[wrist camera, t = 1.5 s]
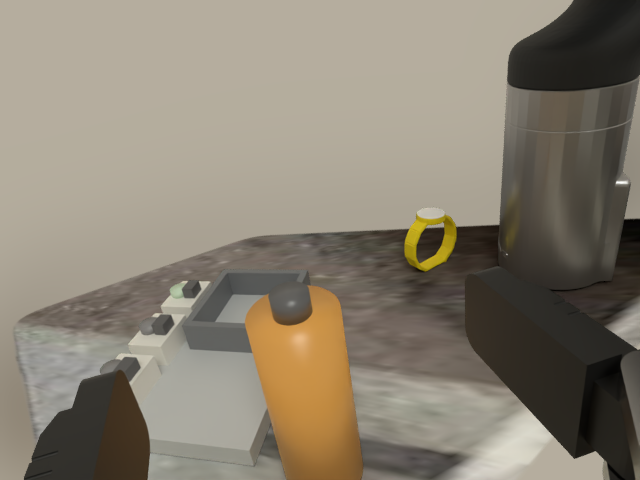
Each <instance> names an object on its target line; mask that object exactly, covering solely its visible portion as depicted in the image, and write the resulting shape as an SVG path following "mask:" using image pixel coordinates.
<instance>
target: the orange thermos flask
mask: <svg viewBox="0 0 640 480" xmlns="http://www.w3.org/2000/svg"><path fill="white" fill-rule="evenodd" d="M245 327H246V331H247V334H248V338H249V342H250V345H251V349H252V353H253V357H254V360H255V364H256V368H257V371H258V375H259V379H260V383H261V386H262V390H263V394H264V397H265V401H266V405H267V409H268V412H269V416H270V420H271V423H272V427H273V431H274V435H275V438H276V442H277V446H278V450H279V453H280V457H281V461H282V464H283V468H284V472H285V476H286V479H287V480H361V478H362V474H363V460H362V453H361V446H360V439H359V432H358V425H357V418H356V411H355V404H354V397H353V390H352V383H351V376H350V369H349V362H348V355H347V348H346V341H345V334H344V327H343V320H342V313H341V306H340V302H339V300H338V299H337V297H336V296H335V295H334V294H333V293H331V292H330V291H328V290H326V289H323V288H321V287H316V286H309V285H306V284H304V283H302V282H297V281H290V282H285V283H281V284H279V285H277V286H275V287H274V288H273V289H272V290H271V291H270V292H269V294H267V295H265V296H263V297H262V298H260V299H259V300H258V301H257V302H255V303H254V304H253V305H252V307H251V308H250V309H249V311H248V313H247V315H246V318H245Z"/></svg>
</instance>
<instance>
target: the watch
mask: <svg viewBox="0 0 640 480" xmlns="http://www.w3.org/2000/svg"><path fill="white" fill-rule="evenodd" d="M442 222H443V223H444V228H445V235H444V239H443V243H442V246H441V247H440V249H439V250H438V252H437V254H436V255H435V256H433V257H431V258H429V259H427V260H425V261H424V262H422V263H420V264H419V262H418V260H417V258H416V246H417V243H418V240H419V238H420V235H421V233H422V232H423V230H424V229H425V228H426V227H427V225H436V224H440V223H442ZM456 237H457V236H456V226H455V223H454V221H453V220H452V218H451V217H449V216H447V215H445V212H444V210H442V209H439V208H423V209H420V210H419V211H418V212H417V213H416V221H415V222H414V223H413V225H412V226H411V227H410V229H409V231H408V234H407V237H406V240H405V257H406V259H407V261H408V262H409V264H410V265H412V266H414V267H416V268H418V269H420V270H422V271H425V272H427V271H428V270H430V269H432V268H434V267H435V266H437V265H439V264H441V263H443V262H446V261H447V259H448V257H449V256H450V254H451V253H452V251H453V248H454V245H455V241H456Z"/></svg>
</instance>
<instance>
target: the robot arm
mask: <svg viewBox="0 0 640 480" xmlns="http://www.w3.org/2000/svg"><path fill="white" fill-rule="evenodd" d="M639 75H640V0H574V1H573V2H572V4H571V5H570V6H569V7H568V9H567V10H566V11H565V12H564V13H563V14H562V15H561V16H559V17H558V18H557V19H556V20H554V21H553V22H552V23H550V24H549V25H547V26H546V27H544V28H543V29H541V30H540V31H538V32H536V33H534V34H532V35H530V36H529V37H527V38H525V39H523V40H521V41H520V42H518V43H517V44H516V45H515V46H514V47H513V48H512V50H511V52H510V55H509V61H508V77H507V81H508V83H507V94H506V113H505V131H504V150H503V151H504V152H503V169H502V170H503V171H502V188H501V207H500V227H499V239H498V264H499V266H500V267H499V266H497V267H493V268H489V269H486V270H482V271H478V272H475V273H471V274H469V275H467V277H466V280H465V326H466V333H467V337H468V339H469V342H470V344H471V346H472V348H473V349H474V351H475V352H476V353H477V354H478V355H479V356H480V357H481V359H482V360H483V361H484V362H485V363H486V364H487V365H488V366H489V367H490V368H491V369H492V370H493V371H494V373H495V374H496V375H497V376H498V377H499V378H500V379H501V380H502V381H503V382H504V383H505V384H506V386H507V387H508V388H509V389H510V390H511V391H512V392H513V393H514V394H515V395H516V396H517V397H518V398H519V400H520V401H521V402H522V403H523V404H524V405H525V406H526V407H527V408H528V409H529V410H530V411H531V413H532V414H533V415H534V416H535V417H536V418H537V419H538V420H539V421H540V422H541V423H542V424H543V425H544V427H545V428H546V429H547V430H548V431H549V432H550V433H551V434H552V435H553V436H554V437H555V438H556V439H557V441H558V442H559V443H560V444H561V445H562V446H563V447H564V448H565V449H566V450H567V451H568V452H569V454H570V455H571V456H572V457H573V458H574V459H575V458H578V457H581V456H584V455H586V454H589V453H592V452H594V451H596V452H597V453H598V454H599V455H600V456H601V457H602V458H603V459H604V462H603V478H604V480H640V350H637V349H636V348H634V347H633V346H631V345H630V344H629V343H627V342H626V341H624V340H623V339H621V338H620V337H618V336H617V335H615V334H614V333H612V332H611V331H610V330H608V329H607V328H605V327H604V326H602V325H601V324H599V323H598V322H596V321H595V320H593V319H592V318H591V317H589V316H588V315H586V314H585V313H582V314H581V312H580V310H579V309H577V308H576V307H574V306H573V305H571V304H570V303H566V302H565V300H564V299H563V298H561V297H560V296H558V295H557V294H555V293H554V292H552V291H551V290H550V289H552V290H569V289H578V288H582V287H586V286H589V285H591V284H593V283H596V282H598V281H612V279H613V273H614V268H615V263H616V258H617V253H618V248H619V242H620V237H621V232H622V227H623V222H624V217H625V211H626V206H627V201H628V196H629V191H630V185H631V182H630V179H629V178H628V177H627V175H626V174H624V172H623V167H624V161H625V156H626V151H627V145H628V140H629V134H630V129H631V123H632V118H633V111H634V106H635V101H636V95H637V90H638V84H639V79H640V76H639ZM149 457H150V439H149V433H148V428H147V424H146V421H145V419H144V417H143V414H142V412H141V410H140V407H139V405H138V402H137V400H136V398H135V395H134V393H133V391H132V388H131V386H130V384H129V381H128V379H127V377H126V375H125V373H124V372H123V371H122V370H116V371H113V372H109V373H105V374H102V375H98V376H95V377H91V378H87V379H84V380H82V381H81V383H80V385H79V388H78V391H77V395H76V398H75V401H74V404H73V407H72V408H71V409H68V410H64V411H61V412H59V413H58V414H57V415H56V416H55V417H54V419H53V420H52V421H51V422H50V424H49V425H48V426H47V427H46V429H45V430H44V431H43V432H42V434H41V435H40V437H39V440H38V442H37V445H36V448H35V450H34V453H33V456H32V463H30V464H29V466H28V469H27V471H26V474H25V476H24V480H147V478H148V467H149Z"/></svg>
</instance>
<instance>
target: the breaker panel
mask: <svg viewBox="0 0 640 480" xmlns="http://www.w3.org/2000/svg"><path fill="white" fill-rule="evenodd" d="M290 281H297V282H302V283H304V284H306V285H309V286H311V285H310V279H309V273H308V270H256V269H224V270H223V271H222V273H221V274H220V275H219V277H218V278H217V279H216V281H215V282H214V283H213V284H212V285H211V282H201V281H199V280H189V281H182V282H181V283H180V284H176V285H174V286H173V287H171V289H170V293H171V295H170V296H169V297H168V298H167V300H166V301H165V302H164V303H163V304H162V305H161V309H162V312H163V314H154V315H153V316H152V317H150V318H147V319H145V320H143V321H142V322H141V323H140V324H139V328H140V331H139V332H138V333H137V334H136V336H135V337H134V338H133V339H132V340H131V341H130V343H129V344H128V347H129V349H130V351H131V354H121V353H120V354H119V355H118V357H117V358H116V359H114V360H111V361H109V362H107V363H105V364H104V365H103V366H102V367H101V369H100V373H101V375H102V374H105V373H109V372H113V371H116V370H122V371H123V372H124V373H125V375H126V377H127V379H128V381H129V384H130V386H131V388H132V391H133V393H134V395H135V398H136V400H137V402H138V405H139V407H140V410H141V412H142V414H143V417H144V419H145V421H146V424H147V428H148V433H149V439H150V453H156V454H164V455H172V456H179V457H187V458H195V459H203V460H210V461H218V462H226V463H233V464H241V465H249V466H255V463H256V460H257V458H258V455H259V453H260V450H261V447H262V445H263V442H264V440H265V437H266V434H267V432H268V429H269V427H270V424H271V420H270V416H269V412H268V409H267V405H266V401H265V397H264V394H263V390H262V386H261V383H260V379H259V375H258V371H257V368H256V364H255V360H254V357H253V353H252V349H251V345H250V342H249V338H248V334H247V331H246V327H245V318H246V315H247V313H248V311H249V309H250V308H251V307H252V305H253V304H254V303H255V302H257V301H258V300H259V299H260V298H262V297H263V296H265V295H267V294H269V292H270V291H271V290H272V289H273V288H274V287H275V286H277V285H279V284H281V283H285V282H290Z"/></svg>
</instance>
